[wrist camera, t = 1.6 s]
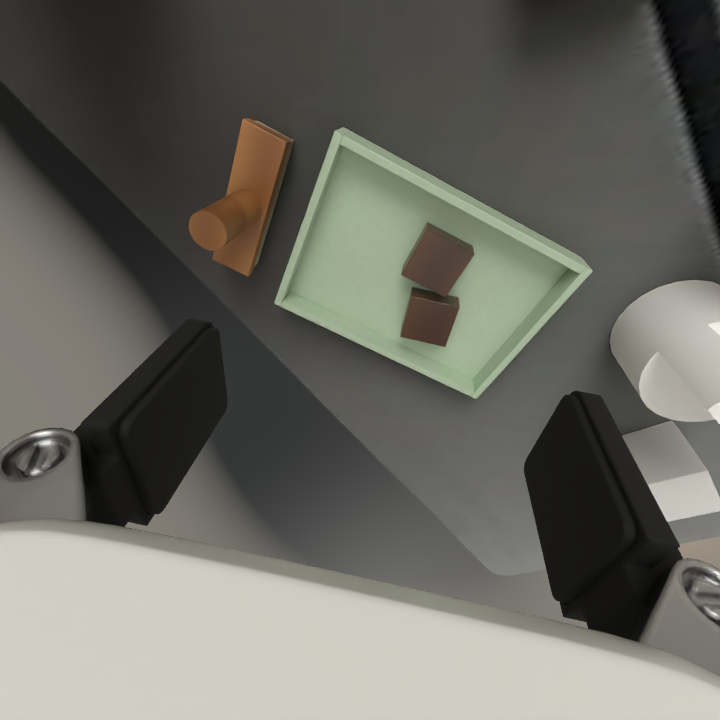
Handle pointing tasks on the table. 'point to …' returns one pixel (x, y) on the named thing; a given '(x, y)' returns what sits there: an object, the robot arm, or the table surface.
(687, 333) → the base with upright slab
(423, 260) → the dark brown square block
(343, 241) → the tray
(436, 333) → the chip
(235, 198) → the brush
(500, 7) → the table surface
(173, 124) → the table surface
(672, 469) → the light grey cube
